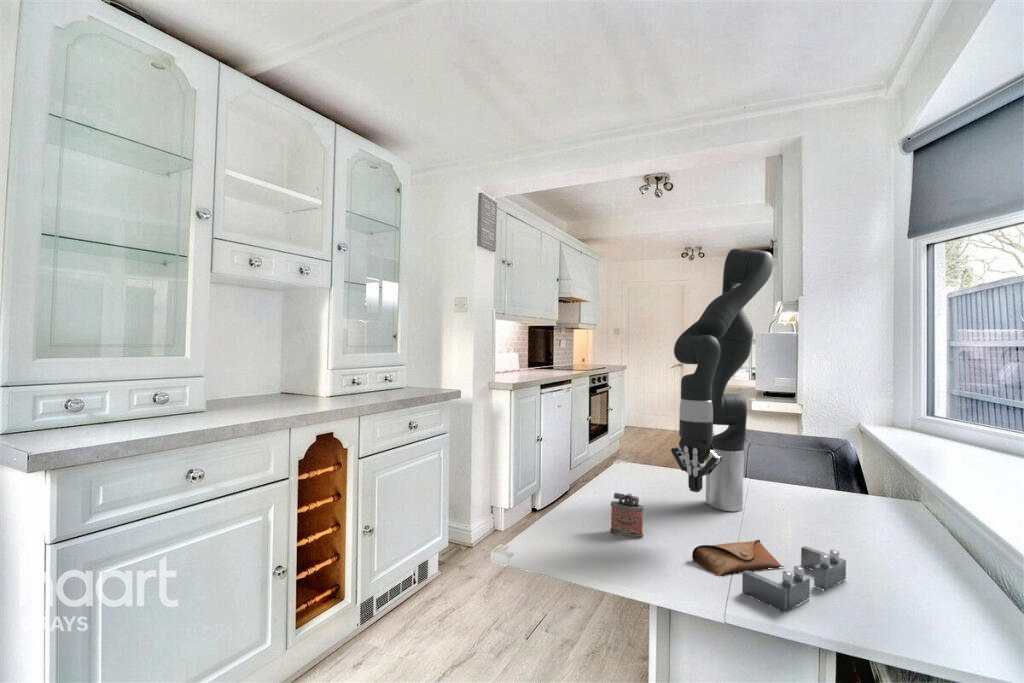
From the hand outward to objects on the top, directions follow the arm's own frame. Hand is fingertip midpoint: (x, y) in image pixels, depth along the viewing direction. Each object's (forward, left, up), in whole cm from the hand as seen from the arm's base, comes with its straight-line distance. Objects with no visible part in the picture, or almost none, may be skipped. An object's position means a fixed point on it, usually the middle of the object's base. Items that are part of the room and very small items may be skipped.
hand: (695, 491), depth 115 cm
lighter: (-12, -10, -13) cm, 20 cm away
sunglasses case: (+12, -1, -13) cm, 18 cm away
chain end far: (+23, +7, -12) cm, 27 cm away
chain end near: (+23, -7, -13) cm, 28 cm away
